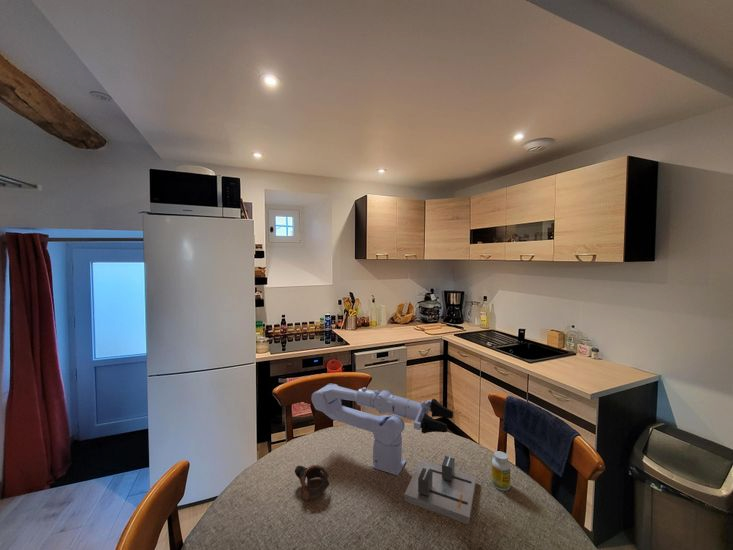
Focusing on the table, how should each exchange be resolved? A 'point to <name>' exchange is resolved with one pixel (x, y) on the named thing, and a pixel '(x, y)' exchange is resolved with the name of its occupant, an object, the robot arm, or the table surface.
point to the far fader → (448, 468)
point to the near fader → (425, 481)
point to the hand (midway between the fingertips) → (450, 421)
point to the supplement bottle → (500, 471)
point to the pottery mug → (310, 474)
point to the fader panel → (444, 493)
